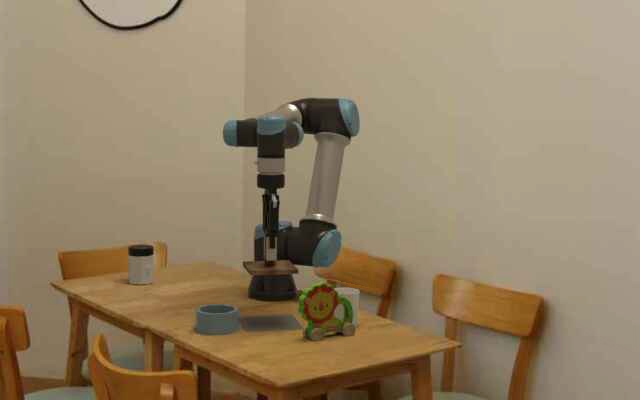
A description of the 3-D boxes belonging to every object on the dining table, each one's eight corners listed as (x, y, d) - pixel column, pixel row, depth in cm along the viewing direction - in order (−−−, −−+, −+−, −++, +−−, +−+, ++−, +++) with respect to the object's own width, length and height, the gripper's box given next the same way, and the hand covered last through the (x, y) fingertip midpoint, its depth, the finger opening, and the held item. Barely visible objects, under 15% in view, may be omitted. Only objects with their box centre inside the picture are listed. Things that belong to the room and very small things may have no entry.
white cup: (338, 331, 257) (339, 295, 256) (325, 324, 264) (325, 289, 263) (364, 328, 261) (364, 292, 260) (350, 321, 268) (350, 286, 267)
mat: (292, 316, 272) (292, 314, 272) (304, 330, 257) (304, 329, 257) (236, 318, 269) (236, 317, 269) (245, 333, 253) (245, 331, 253)
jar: (136, 286, 307) (136, 249, 306) (122, 282, 313) (122, 246, 312) (159, 282, 314) (159, 246, 312) (145, 278, 319) (145, 243, 318)
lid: (288, 264, 269) (289, 225, 267) (298, 273, 256) (298, 232, 255) (242, 265, 266) (243, 226, 264) (250, 275, 253) (250, 233, 252)
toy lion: (345, 332, 257) (346, 276, 255) (356, 337, 252) (357, 280, 250) (294, 340, 248) (294, 282, 246) (305, 345, 244) (305, 286, 242)
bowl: (234, 324, 262) (234, 303, 261) (240, 335, 252) (240, 313, 251) (194, 326, 260) (194, 305, 259) (198, 337, 249) (198, 315, 248)
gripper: (252, 170, 264) (251, 253, 267) (262, 176, 249) (261, 265, 252) (279, 170, 266) (278, 253, 269) (290, 176, 251) (289, 264, 254)
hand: (270, 258), depth 261 cm, fingers closed on lid, 3 cm apart
